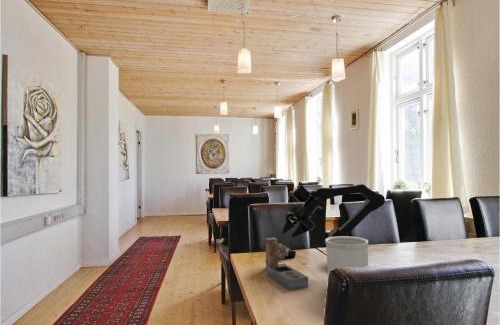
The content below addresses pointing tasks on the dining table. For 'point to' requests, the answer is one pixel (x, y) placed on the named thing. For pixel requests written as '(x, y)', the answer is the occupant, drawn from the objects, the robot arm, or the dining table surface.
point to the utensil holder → (346, 252)
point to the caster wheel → (285, 251)
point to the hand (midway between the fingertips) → (287, 234)
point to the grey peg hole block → (287, 276)
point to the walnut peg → (271, 251)
